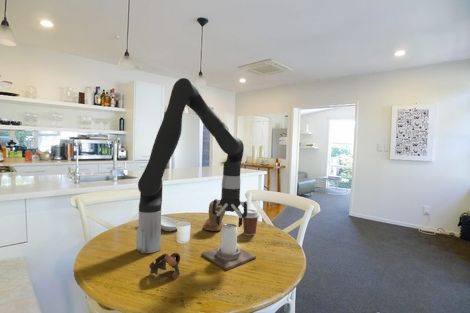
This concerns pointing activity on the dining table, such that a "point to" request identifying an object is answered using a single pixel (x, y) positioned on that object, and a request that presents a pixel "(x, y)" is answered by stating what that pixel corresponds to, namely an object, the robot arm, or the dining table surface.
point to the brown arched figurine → (171, 260)
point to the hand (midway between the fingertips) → (229, 225)
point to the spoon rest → (168, 223)
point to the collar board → (227, 262)
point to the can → (229, 239)
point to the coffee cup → (250, 222)
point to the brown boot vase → (214, 219)
